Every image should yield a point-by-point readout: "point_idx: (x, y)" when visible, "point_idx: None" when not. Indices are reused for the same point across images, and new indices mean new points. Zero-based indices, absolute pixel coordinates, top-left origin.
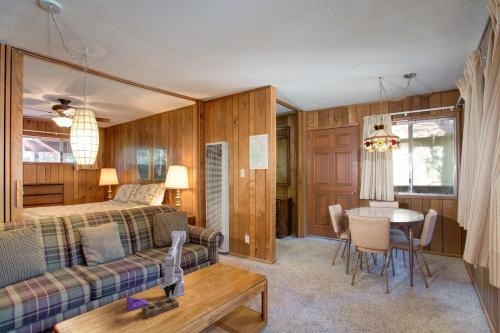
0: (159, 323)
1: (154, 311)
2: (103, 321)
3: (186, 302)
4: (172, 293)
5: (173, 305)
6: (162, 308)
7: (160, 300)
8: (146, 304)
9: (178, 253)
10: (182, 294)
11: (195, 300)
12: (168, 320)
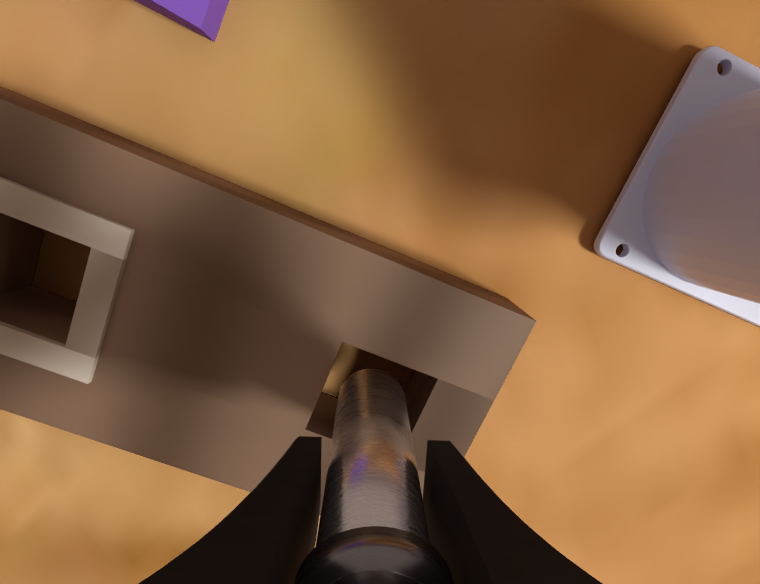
0: (2, 535)
1: (4, 404)
2: None
3: (553, 503)
4: None
5: None
6: (143, 453)
7: (316, 230)
8: (153, 5)
9: None
10: (744, 319)
11: (641, 566)
12: (111, 578)
